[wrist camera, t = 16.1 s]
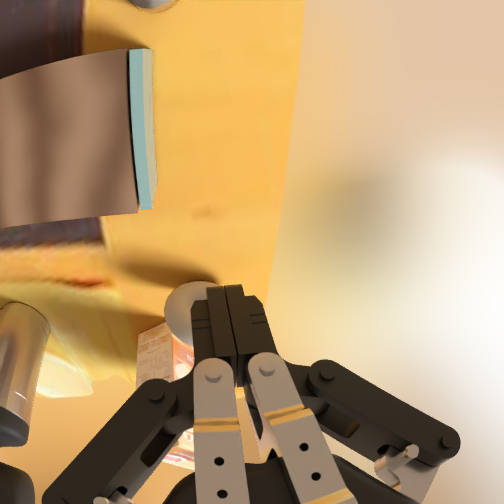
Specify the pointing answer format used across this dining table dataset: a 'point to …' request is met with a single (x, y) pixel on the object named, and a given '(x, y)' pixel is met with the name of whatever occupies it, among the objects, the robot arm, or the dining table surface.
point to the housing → (67, 141)
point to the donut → (184, 308)
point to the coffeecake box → (167, 378)
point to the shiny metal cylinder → (154, 5)
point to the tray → (142, 124)
